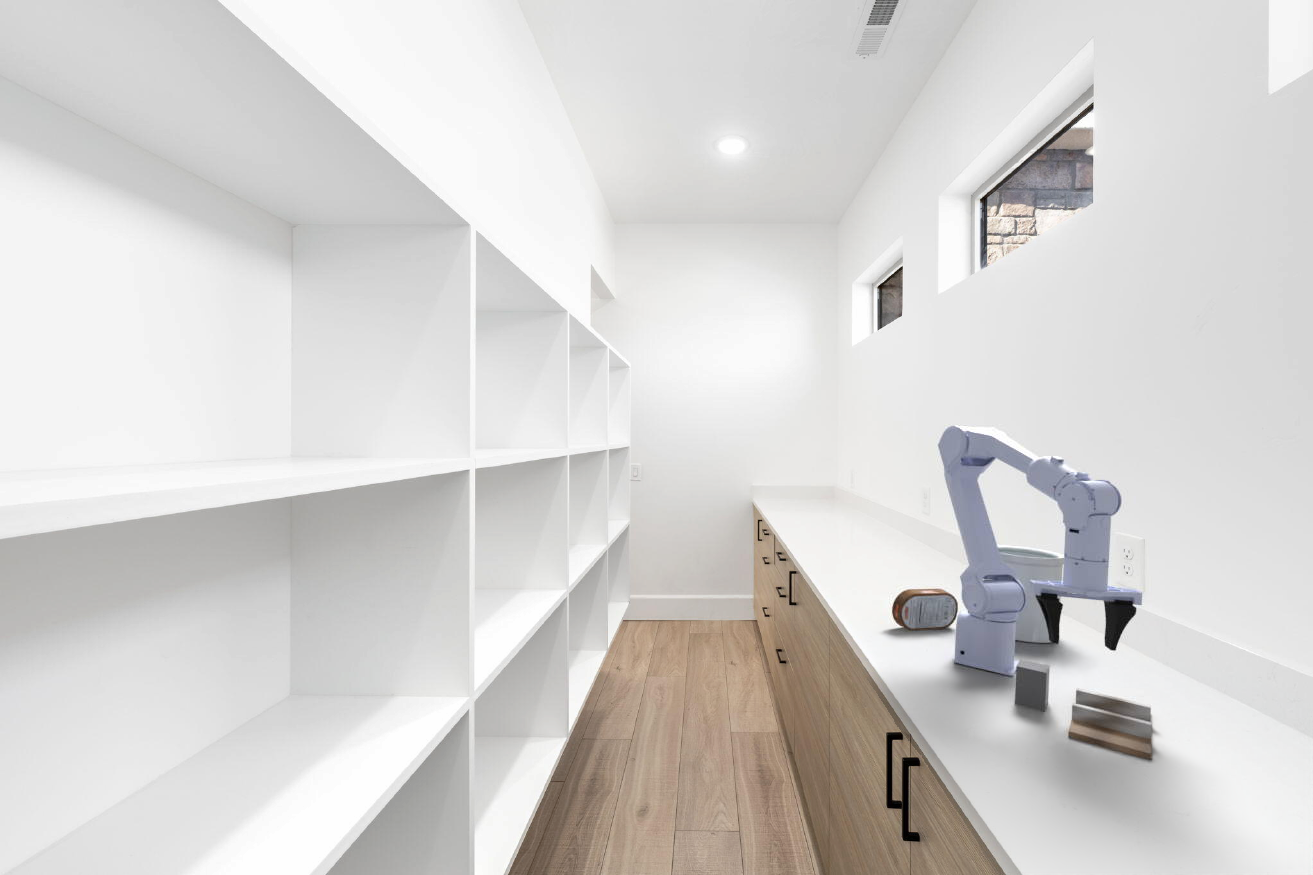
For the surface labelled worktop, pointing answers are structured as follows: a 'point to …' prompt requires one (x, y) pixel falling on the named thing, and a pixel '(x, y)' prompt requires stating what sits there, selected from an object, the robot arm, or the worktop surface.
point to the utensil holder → (1029, 568)
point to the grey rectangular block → (1032, 685)
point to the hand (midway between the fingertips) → (1081, 645)
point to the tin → (924, 609)
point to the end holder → (1111, 723)
